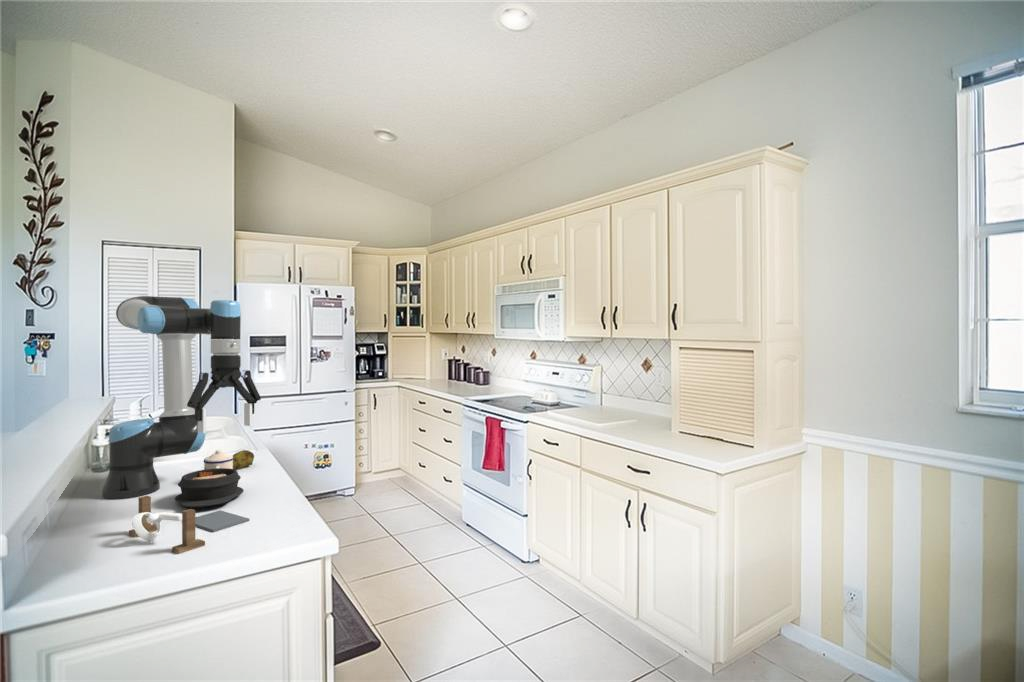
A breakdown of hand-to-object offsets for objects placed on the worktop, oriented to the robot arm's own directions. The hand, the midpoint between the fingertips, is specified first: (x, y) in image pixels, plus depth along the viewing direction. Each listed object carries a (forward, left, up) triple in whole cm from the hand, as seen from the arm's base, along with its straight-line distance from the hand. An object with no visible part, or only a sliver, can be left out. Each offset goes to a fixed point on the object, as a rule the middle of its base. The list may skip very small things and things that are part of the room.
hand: (225, 429), depth 151 cm
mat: (+4, -5, -24) cm, 25 cm away
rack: (+6, -19, -24) cm, 31 cm away
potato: (-43, +29, -25) cm, 58 cm away
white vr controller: (+5, -20, -25) cm, 32 cm away
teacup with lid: (-32, +16, -25) cm, 44 cm away
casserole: (-17, +5, -25) cm, 31 cm away
